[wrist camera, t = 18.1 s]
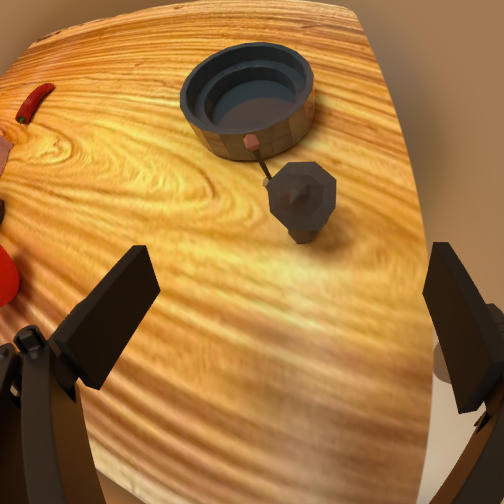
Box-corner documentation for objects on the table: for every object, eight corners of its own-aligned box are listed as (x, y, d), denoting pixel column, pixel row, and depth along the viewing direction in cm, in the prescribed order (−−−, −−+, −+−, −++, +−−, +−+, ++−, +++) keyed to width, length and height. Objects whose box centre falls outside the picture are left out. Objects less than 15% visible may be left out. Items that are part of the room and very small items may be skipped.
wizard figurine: (340, 215, 31) (350, 154, 20) (320, 263, 31) (322, 223, 19) (269, 188, 34) (246, 122, 22) (247, 233, 33) (211, 182, 22)
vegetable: (20, 120, 46) (53, 80, 49) (7, 116, 46) (38, 77, 49) (28, 131, 50) (58, 92, 54) (15, 127, 50) (44, 89, 53)
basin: (332, 87, 36) (331, 55, 30) (284, 180, 34) (276, 151, 28) (232, 65, 40) (221, 37, 34) (175, 144, 38) (155, 117, 32)
